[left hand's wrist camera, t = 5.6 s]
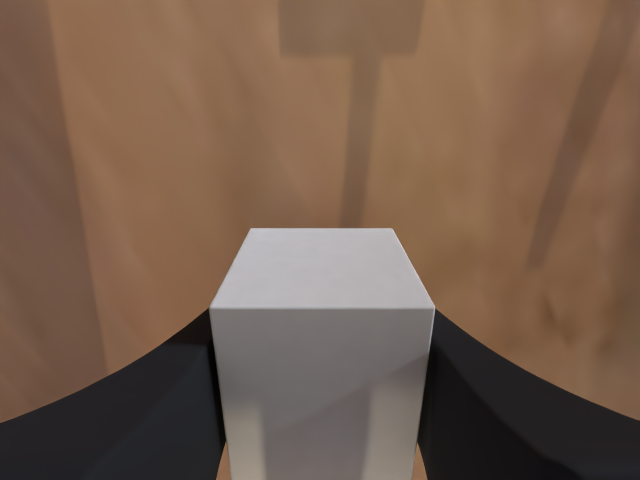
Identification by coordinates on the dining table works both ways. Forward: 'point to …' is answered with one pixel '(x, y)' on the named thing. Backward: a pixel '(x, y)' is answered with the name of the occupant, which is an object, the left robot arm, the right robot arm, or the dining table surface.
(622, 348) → the dining table surface
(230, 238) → the dining table surface
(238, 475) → the block
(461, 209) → the dining table surface
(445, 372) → the left robot arm
